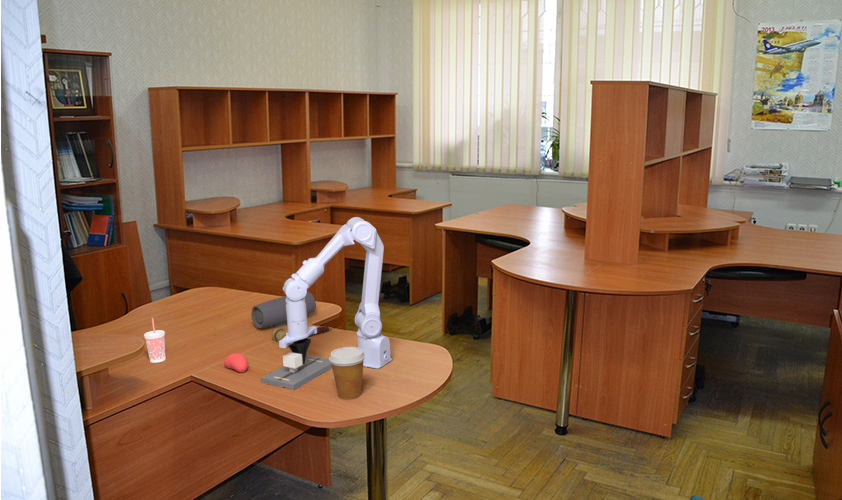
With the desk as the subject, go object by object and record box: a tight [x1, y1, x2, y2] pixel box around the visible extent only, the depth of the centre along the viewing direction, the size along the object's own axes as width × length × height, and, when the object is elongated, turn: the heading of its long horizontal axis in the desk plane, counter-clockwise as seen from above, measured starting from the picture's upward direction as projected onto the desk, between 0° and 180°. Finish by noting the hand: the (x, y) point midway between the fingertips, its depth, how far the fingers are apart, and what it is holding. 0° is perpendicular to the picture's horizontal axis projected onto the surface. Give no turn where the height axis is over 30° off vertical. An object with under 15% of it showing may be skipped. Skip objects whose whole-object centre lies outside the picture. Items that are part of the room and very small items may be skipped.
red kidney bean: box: [223, 352, 249, 373], centre depth 195 cm, size 5×9×6 cm
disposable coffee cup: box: [328, 346, 365, 400], centre depth 173 cm, size 10×10×12 cm
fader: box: [282, 351, 303, 373], centre depth 186 cm, size 4×3×5 cm
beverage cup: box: [143, 317, 166, 364], centre depth 204 cm, size 6×6×14 cm
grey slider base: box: [260, 354, 332, 390], centre depth 189 cm, size 12×20×2 cm, turn 151°
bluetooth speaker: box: [250, 291, 317, 329], centre depth 237 cm, size 23×9×10 cm, turn 136°
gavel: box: [271, 325, 333, 348], centre depth 222 cm, size 21×5×10 cm
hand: (300, 363), depth 189 cm, fingers closed
